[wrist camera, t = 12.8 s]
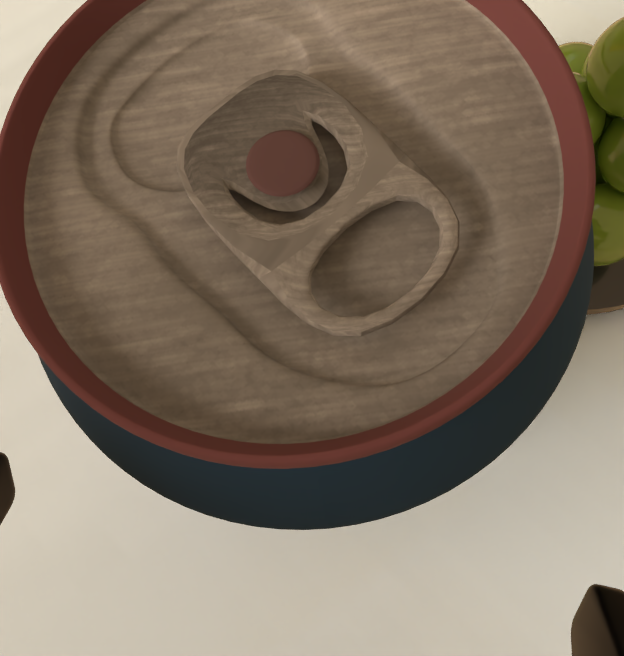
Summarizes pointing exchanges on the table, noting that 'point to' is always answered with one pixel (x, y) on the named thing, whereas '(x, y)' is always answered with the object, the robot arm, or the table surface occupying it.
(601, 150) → the grapes
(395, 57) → the soda can
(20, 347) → the table surface
